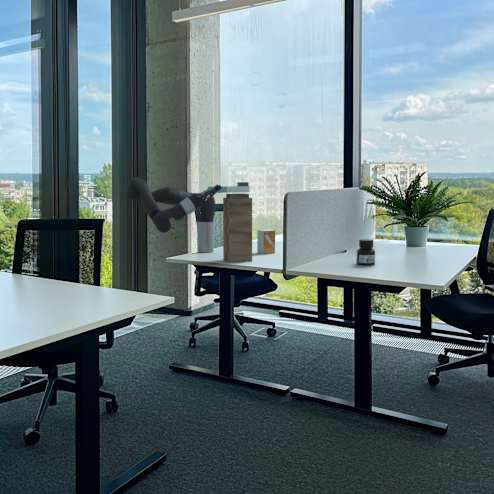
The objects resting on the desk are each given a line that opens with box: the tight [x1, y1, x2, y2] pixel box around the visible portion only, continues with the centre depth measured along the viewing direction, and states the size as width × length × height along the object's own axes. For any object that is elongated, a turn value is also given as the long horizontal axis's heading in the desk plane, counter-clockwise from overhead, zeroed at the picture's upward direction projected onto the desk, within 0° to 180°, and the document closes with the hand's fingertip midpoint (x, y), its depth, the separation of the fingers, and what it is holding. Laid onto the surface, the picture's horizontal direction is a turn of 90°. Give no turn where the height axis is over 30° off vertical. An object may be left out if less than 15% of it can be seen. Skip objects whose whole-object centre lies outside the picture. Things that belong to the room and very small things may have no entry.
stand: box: [222, 193, 253, 263], centre depth 276 cm, size 10×12×34 cm
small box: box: [256, 229, 276, 255], centre depth 304 cm, size 8×6×13 cm
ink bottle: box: [356, 238, 376, 266], centre depth 267 cm, size 10×9×12 cm
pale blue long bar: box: [207, 181, 251, 194], centre depth 272 cm, size 3×21×5 cm, turn 111°
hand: (219, 186), depth 270 cm, fingers closed on pale blue long bar, 3 cm apart
